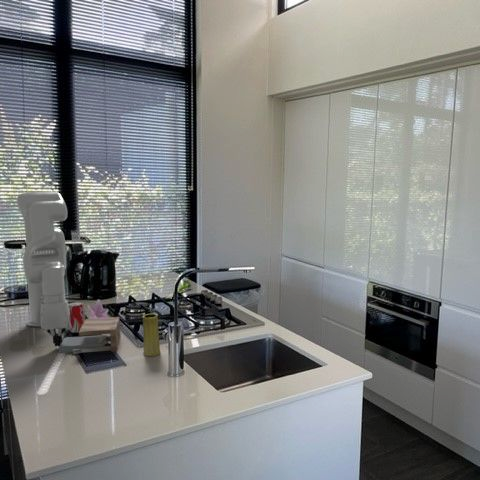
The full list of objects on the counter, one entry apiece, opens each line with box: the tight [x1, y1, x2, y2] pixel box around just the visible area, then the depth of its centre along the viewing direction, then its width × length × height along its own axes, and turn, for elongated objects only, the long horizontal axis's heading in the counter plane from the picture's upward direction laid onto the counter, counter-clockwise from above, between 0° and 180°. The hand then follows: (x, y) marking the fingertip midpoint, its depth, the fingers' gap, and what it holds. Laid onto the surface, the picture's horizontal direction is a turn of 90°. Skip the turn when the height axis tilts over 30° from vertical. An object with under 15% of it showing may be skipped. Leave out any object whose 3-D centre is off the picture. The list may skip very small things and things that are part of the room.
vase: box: [142, 313, 161, 357], centre depth 165 cm, size 6×6×14 cm
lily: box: [87, 299, 110, 319], centre depth 203 cm, size 12×12×10 cm
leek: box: [165, 279, 192, 300], centre depth 253 cm, size 6×7×30 cm
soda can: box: [68, 301, 86, 334], centre depth 192 cm, size 7×7×12 cm
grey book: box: [58, 334, 109, 354], centre depth 174 cm, size 10×16×3 cm, turn 98°
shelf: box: [72, 316, 121, 355], centre depth 175 cm, size 16×16×8 cm
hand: (57, 345), depth 173 cm, fingers closed
